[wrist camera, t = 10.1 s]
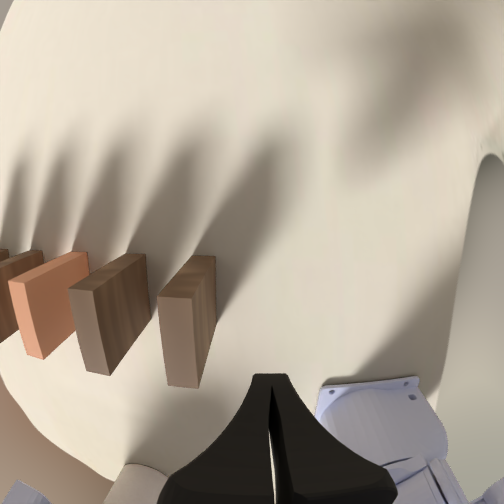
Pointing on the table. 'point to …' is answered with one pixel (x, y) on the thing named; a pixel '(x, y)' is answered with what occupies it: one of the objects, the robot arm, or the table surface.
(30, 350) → the domino
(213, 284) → the domino
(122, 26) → the table surface
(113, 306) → the domino
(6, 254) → the domino
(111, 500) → the coffee cup
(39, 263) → the domino
